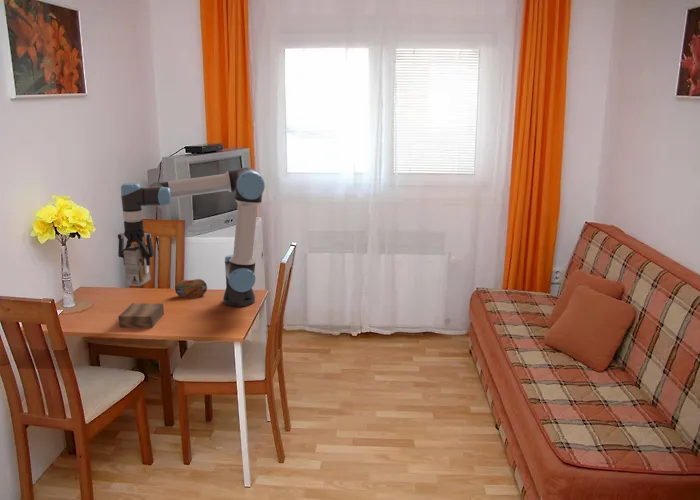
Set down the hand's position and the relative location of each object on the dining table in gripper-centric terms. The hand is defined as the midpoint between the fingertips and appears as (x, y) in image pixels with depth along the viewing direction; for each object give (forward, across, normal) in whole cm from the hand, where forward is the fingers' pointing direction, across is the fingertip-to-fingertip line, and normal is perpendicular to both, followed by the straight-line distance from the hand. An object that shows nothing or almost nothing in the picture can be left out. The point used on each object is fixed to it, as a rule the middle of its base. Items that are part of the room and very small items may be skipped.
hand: (138, 272), depth 253 cm
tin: (+22, -13, -33) cm, 42 cm away
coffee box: (+5, 0, 0) cm, 5 cm away
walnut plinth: (+22, 0, 0) cm, 22 cm away
